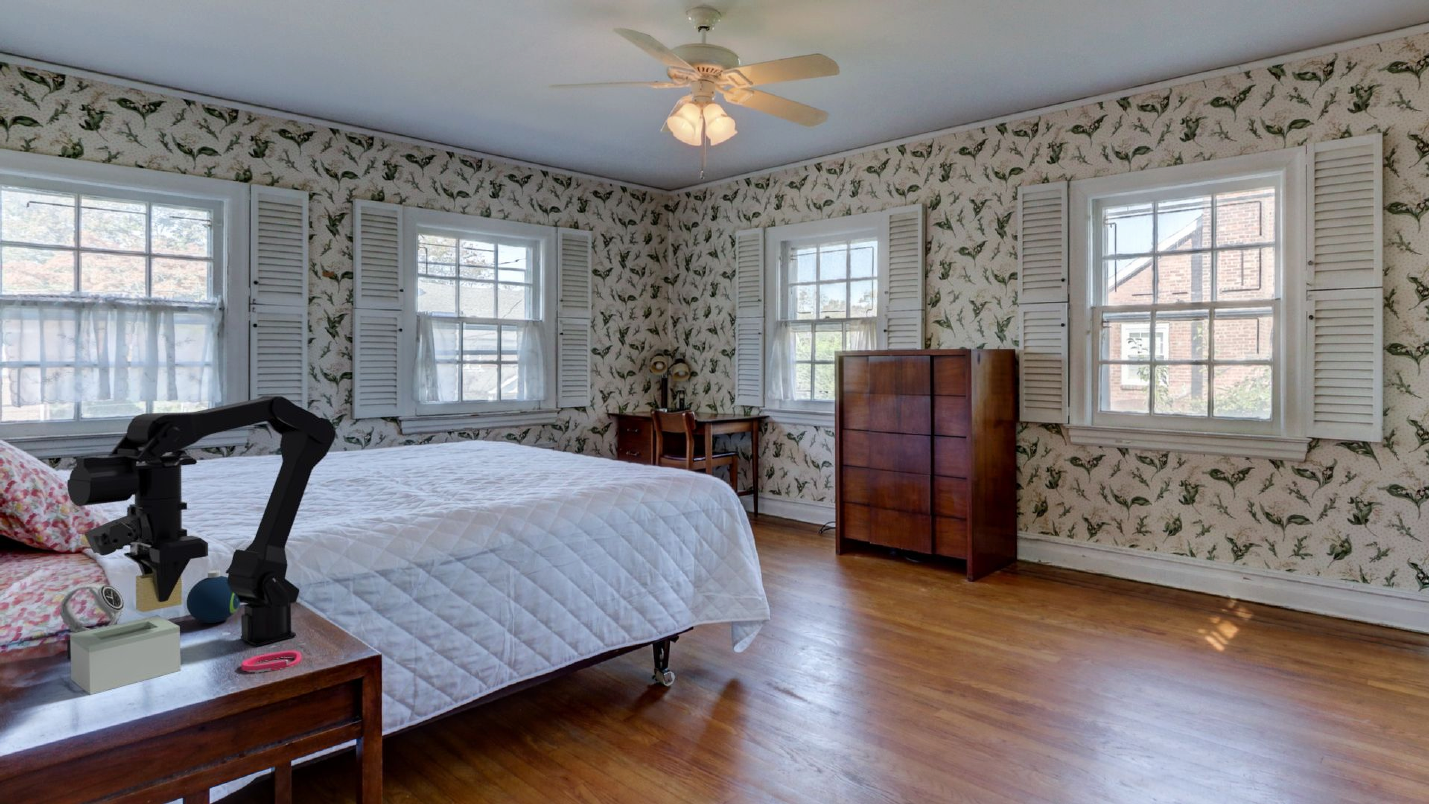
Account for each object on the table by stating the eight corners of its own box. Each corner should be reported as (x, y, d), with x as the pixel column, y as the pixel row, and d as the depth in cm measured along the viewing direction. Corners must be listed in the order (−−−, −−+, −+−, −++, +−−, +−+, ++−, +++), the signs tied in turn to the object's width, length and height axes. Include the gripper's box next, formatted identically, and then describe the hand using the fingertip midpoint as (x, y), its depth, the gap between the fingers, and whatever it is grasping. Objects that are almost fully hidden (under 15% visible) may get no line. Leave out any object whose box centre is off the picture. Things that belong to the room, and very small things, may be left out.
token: (174, 601, 117) (174, 569, 117) (181, 604, 116) (181, 571, 115) (136, 609, 113) (135, 576, 113) (142, 612, 111) (142, 578, 111)
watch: (113, 655, 122) (112, 588, 122) (54, 660, 120) (52, 591, 120) (130, 643, 127) (129, 578, 127) (73, 647, 125) (72, 582, 125)
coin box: (159, 657, 121) (158, 615, 121) (180, 670, 116) (179, 626, 116) (71, 679, 112) (70, 634, 112) (90, 694, 107) (89, 647, 107)
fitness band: (240, 678, 114) (240, 668, 114) (242, 665, 119) (242, 655, 119) (301, 668, 118) (301, 658, 118) (301, 655, 123) (301, 646, 123)
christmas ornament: (213, 631, 134) (212, 575, 133) (175, 627, 136) (174, 572, 135) (252, 616, 142) (251, 563, 141) (216, 613, 144) (215, 561, 143)
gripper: (68, 497, 112) (69, 602, 113) (117, 510, 102) (118, 625, 102) (156, 489, 122) (157, 585, 122) (209, 500, 111) (210, 605, 112)
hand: (159, 599), depth 114 cm, fingers closed on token, 2 cm apart
